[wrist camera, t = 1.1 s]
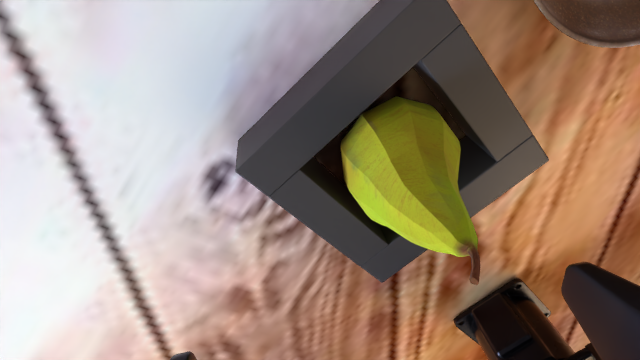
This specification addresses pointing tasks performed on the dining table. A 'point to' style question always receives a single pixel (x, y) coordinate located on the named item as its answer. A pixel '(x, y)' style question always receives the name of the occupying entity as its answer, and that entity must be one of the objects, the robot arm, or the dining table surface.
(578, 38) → the saucer
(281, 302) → the dining table surface
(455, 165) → the fruit
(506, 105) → the holder
